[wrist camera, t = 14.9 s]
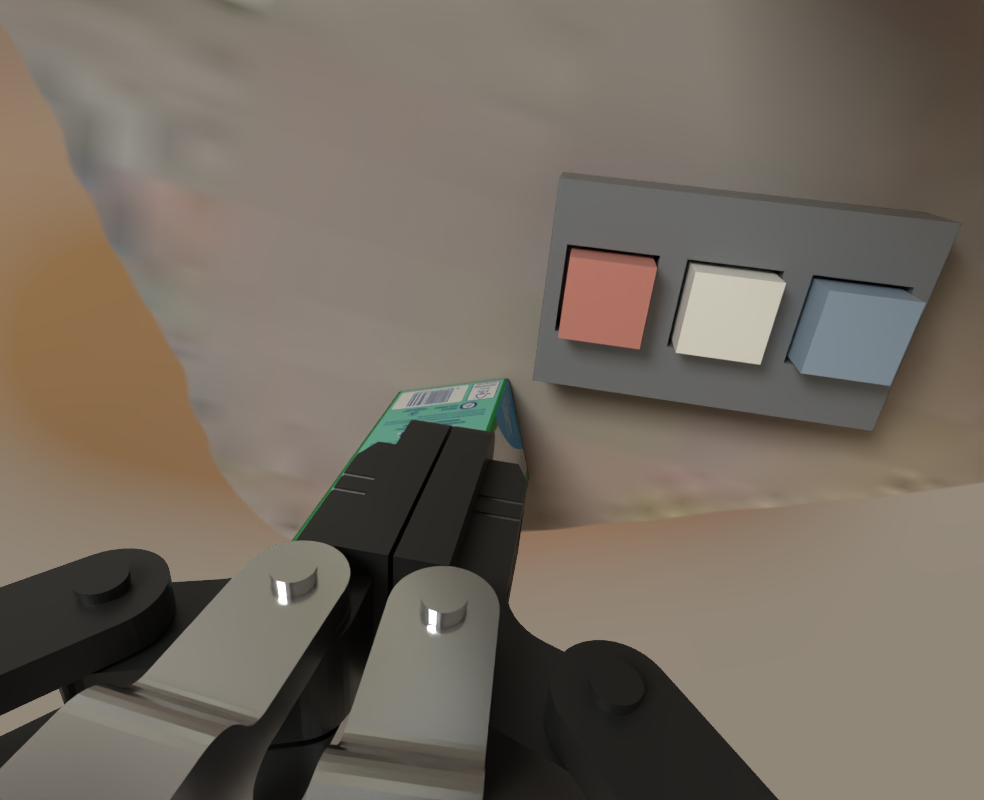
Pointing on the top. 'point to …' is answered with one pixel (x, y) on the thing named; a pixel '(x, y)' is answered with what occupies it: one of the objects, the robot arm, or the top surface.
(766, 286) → the white key
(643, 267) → the red key
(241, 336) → the top surface
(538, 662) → the robot arm
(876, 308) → the blue key
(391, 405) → the milk carton
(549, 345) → the key panel
